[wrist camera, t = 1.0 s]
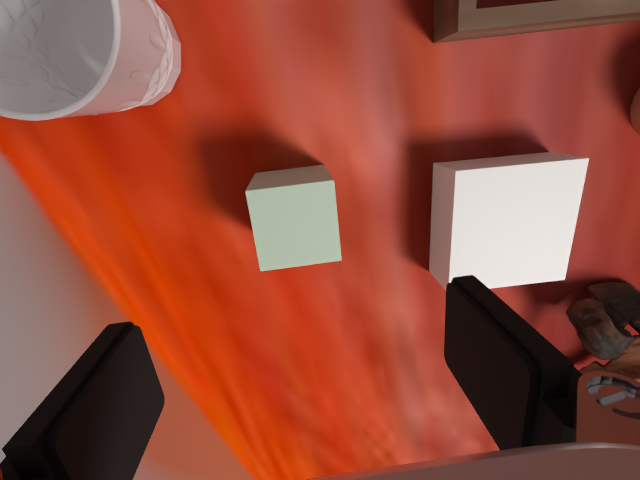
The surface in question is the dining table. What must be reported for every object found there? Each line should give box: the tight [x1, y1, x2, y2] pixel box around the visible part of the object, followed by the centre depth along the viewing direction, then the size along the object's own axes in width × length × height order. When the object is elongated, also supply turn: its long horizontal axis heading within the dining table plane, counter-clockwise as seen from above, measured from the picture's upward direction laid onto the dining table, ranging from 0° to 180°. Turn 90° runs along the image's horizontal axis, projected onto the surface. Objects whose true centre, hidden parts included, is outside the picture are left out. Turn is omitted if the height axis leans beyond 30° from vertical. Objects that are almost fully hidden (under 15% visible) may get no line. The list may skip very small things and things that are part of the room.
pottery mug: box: [566, 282, 640, 382], centre depth 30 cm, size 12×9×8 cm
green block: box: [245, 165, 342, 271], centre depth 23 cm, size 5×5×6 cm
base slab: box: [429, 152, 589, 290], centre depth 26 cm, size 9×9×4 cm
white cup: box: [0, 0, 181, 121], centre depth 16 cm, size 8×8×10 cm
